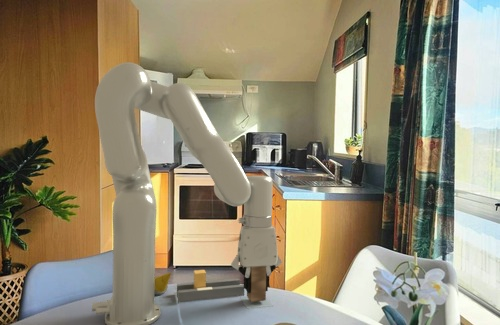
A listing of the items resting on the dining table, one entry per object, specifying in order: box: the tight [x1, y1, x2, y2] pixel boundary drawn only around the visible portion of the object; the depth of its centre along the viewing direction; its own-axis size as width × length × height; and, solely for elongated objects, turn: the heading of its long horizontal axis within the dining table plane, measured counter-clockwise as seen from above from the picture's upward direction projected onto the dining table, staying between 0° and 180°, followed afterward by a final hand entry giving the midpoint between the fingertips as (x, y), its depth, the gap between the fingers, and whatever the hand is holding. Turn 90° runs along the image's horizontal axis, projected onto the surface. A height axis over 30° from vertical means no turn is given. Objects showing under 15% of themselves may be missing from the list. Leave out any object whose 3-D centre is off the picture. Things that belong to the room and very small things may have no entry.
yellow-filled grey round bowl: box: [154, 272, 172, 296], centre depth 93 cm, size 5×5×10 cm
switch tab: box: [193, 269, 207, 289], centre depth 92 cm, size 3×3×5 cm
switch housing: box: [176, 277, 245, 305], centre depth 93 cm, size 18×6×3 cm, turn 107°
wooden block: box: [246, 266, 267, 302], centre depth 88 cm, size 4×4×10 cm
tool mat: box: [240, 296, 274, 310], centre depth 88 cm, size 7×7×1 cm
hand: (256, 289), depth 88 cm, fingers closed on wooden block, 4 cm apart
